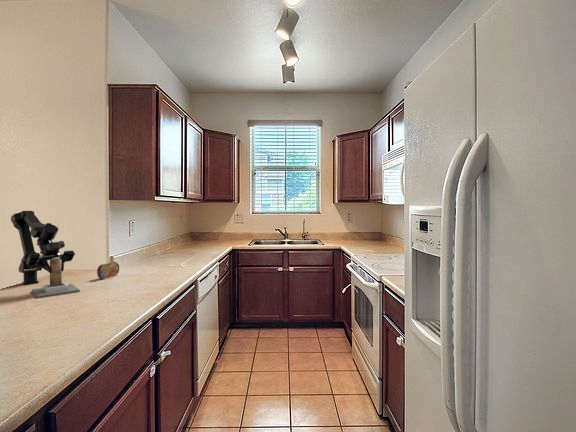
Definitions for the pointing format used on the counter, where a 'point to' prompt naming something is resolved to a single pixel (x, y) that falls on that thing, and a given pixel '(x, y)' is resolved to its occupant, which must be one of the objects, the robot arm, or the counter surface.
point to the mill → (56, 272)
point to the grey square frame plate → (55, 290)
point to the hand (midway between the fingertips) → (57, 271)
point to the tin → (108, 270)
